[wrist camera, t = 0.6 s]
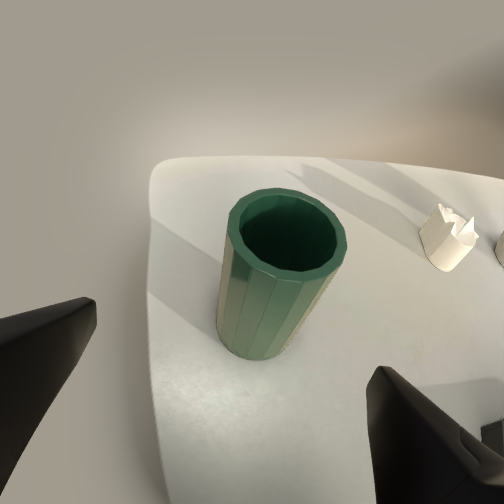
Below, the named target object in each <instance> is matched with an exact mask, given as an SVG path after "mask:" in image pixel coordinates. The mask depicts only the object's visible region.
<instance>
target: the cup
mask: <svg viewBox="0 0 504 504" xmlns="http://www.w3.org/2000/svg"><path fill="white" fill-rule="evenodd" d="M495 253H496V256H497V258H498V260H499V262H500V263H501V265H502V266H503V267H504V231H503V233H502V234H501V237H500V239H499V241H498V243H497V246H496V248H495Z"/></svg>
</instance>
